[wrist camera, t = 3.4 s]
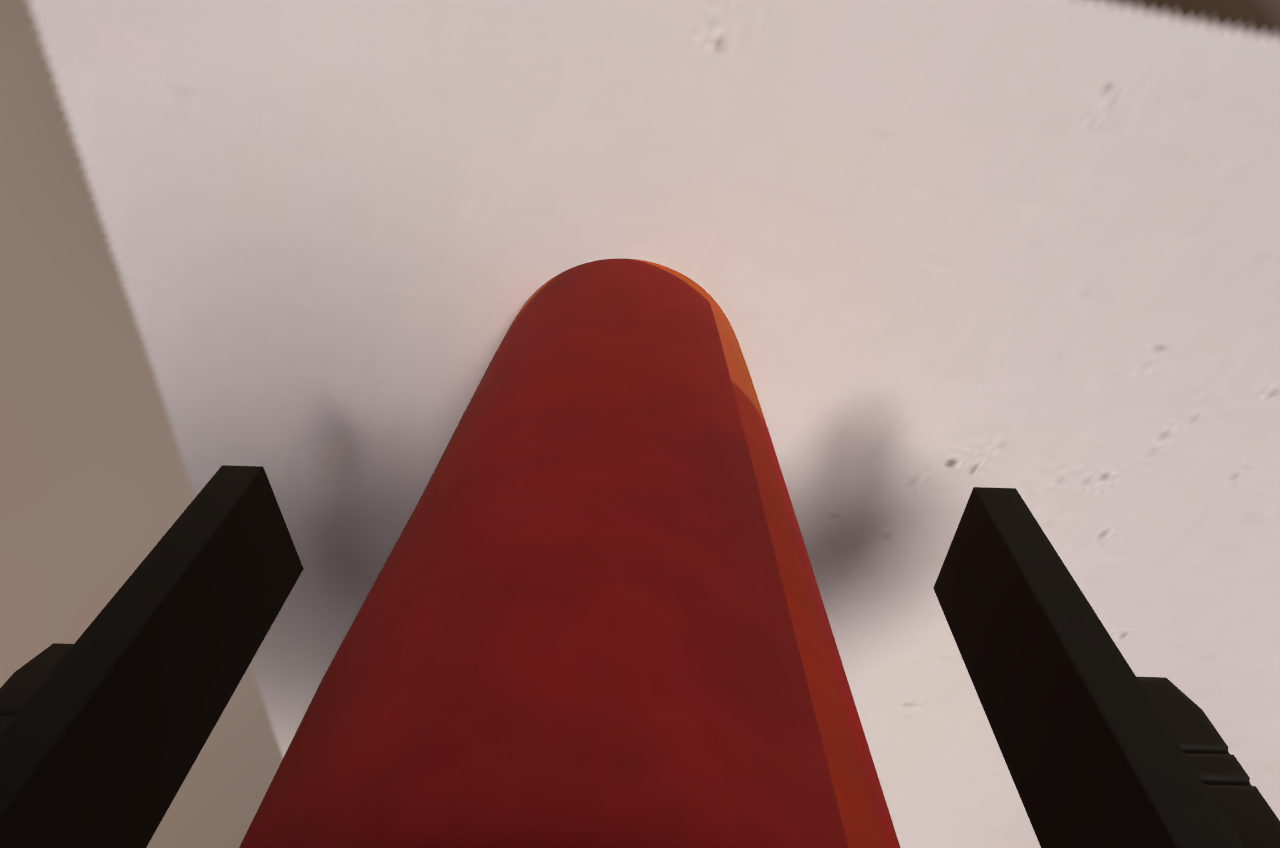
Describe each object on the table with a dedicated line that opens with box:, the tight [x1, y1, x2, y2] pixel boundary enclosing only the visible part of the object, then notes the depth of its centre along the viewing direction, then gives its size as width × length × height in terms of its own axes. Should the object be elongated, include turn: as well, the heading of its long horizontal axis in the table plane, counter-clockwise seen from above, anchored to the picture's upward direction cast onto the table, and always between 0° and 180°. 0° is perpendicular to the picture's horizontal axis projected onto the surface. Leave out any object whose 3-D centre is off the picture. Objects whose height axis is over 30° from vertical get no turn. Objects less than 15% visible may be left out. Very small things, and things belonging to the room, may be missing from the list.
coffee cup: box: [239, 259, 900, 848], centre depth 12 cm, size 8×8×15 cm
